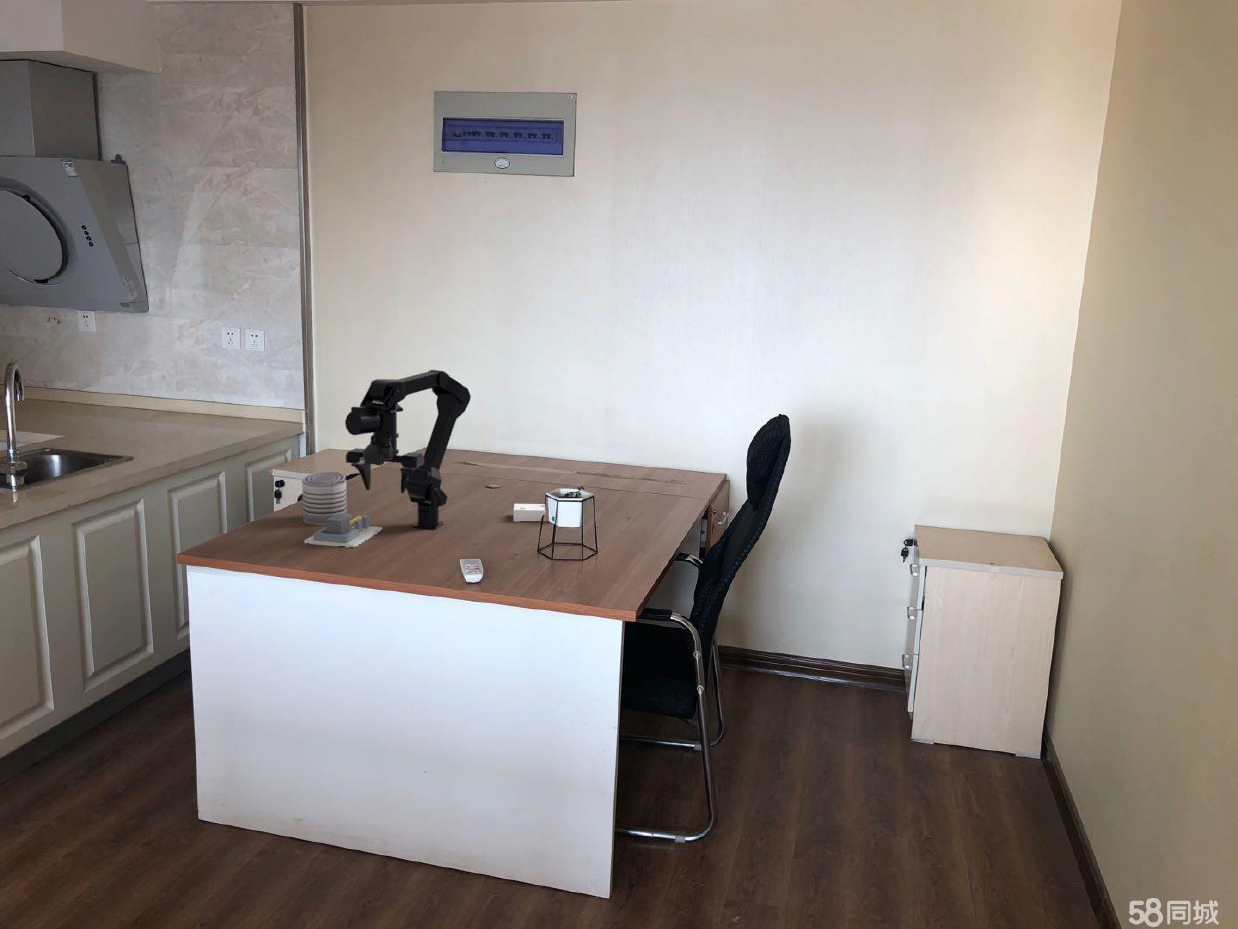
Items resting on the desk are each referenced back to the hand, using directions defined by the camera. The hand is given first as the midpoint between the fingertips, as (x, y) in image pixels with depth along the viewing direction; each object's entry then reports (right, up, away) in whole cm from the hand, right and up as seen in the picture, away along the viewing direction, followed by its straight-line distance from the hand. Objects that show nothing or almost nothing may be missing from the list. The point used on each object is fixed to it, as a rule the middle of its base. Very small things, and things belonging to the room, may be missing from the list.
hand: (385, 491), depth 248 cm
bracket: (+36, -9, +27) cm, 46 cm away
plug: (-10, -10, +3) cm, 15 cm away
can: (-20, -8, +17) cm, 28 cm away
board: (-11, -11, +2) cm, 16 cm away
